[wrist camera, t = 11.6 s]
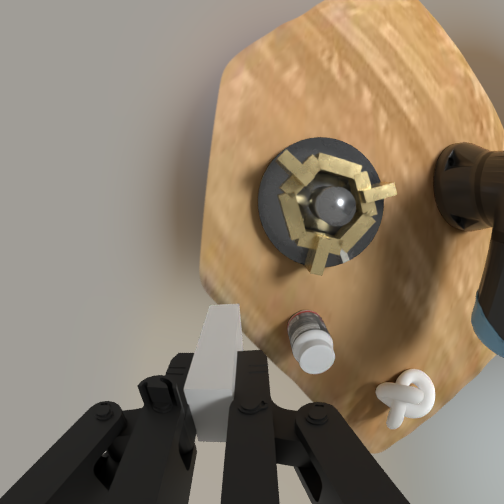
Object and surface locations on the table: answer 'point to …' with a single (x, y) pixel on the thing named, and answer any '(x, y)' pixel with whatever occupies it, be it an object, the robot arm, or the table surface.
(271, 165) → the hub plate
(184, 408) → the robot arm
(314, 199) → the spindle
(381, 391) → the white knot sculpture
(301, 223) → the taped hex socket base
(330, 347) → the pill bottle
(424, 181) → the table surface
